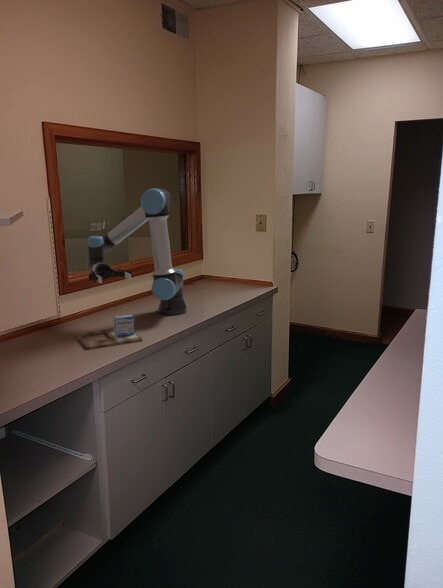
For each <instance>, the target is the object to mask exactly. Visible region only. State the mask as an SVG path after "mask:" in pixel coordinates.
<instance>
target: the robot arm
mask: <svg viewBox="0 0 443 588" xmlns="http://www.w3.org/2000/svg"><path fill="white" fill-rule="evenodd" d="M172 199H173V198H172V196H171V193H170V192H169V191H168V190H166V189H164V188H162V187H159V188H158V187H153V188H150V189H147V190H145V191H144V193H142V195H141V198H140V207H139V208H138V209H136V210H135V211H133V213H131V214H130V215H129V216H128V217H126V218H125V219H124V220H123V221H121V222H120V223H119V224H117V225H116V226H115V227H113V228H112V229H111V230H110V231H108V232H107V233H106V234H105V235H104V236H100V235H93V236H91V235H90V236H88V238H87V251H88V254H87V255H88V261H87V264H86V267H87V270H88V271H89V273H88V281H92V282H93V283H95V282H98V283H99V284H103V281H105V280H108V279H109V278H115V277H121V278H125V279H126V280H128V281H132V276H133V275H132V270H128V269H126V270H125V269H121V268H116V269H113V268H111V266H110V265H109V264H107V263H105V253H108V252H110V251H111V252H112V250H114V248H115V247H116V246H117V245H118V244H120V243H121V242H122V241H123V240H125V239H126V238H128V237H129V236H130V235H131V234H133V233H134V232H135V231H136V230H138V229H139V228H140V227H142V226H143V225H145V223H147V222H148V225H149V233H150V241H151V247H152V248H151V249H152V256H153V264H154V265H153V266H154V271H152V281H153V282H152V285H151V292H152V294H153V295H154V297H155V298H156V299H159V303H158V308H157V309H158V313H159V314H161V315H165V316H166V315H168V316H175V315H176V316H177V315H182V314H185V313H187V304H186V301H185V298H184V271H183V270H182V269H179V268H174V267H173V263H172V255H171V254H172V253H171V245H170V238H169V229H168V218H169V217H170V210H169V208H170V207H171V205H172V202H173V201H172Z"/></svg>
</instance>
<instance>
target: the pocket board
mask: <svg viewBox="0 0 443 588" xmlns="http://www.w3.org/2000/svg"><path fill="white" fill-rule="evenodd" d="M103 334H104V335H106V336H107V337H108V338H105V339H98V340H93V341H86V340H85V339H84V337H90V336H91V337H92V336H97V335H103ZM75 337H76V338H77V340H78V341H79V342H80V343H81V345H82V346H83V347H84V348H85V349H86V351H87V350H94V349H99V348H105V347H113V346H119V345H124V344H131V343H137V342H142V341H143V338H142V337H141V336H140V335H139V334H137V333H136V332H135V331H134V335H129V336H123V337H117V336H115V335H114V327H112V328H108V329H107V328H106V329H100V330H93V331H86V332H79V333H75Z"/></svg>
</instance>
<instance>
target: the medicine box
mask: <svg viewBox="0 0 443 588" xmlns="http://www.w3.org/2000/svg"><path fill="white" fill-rule="evenodd" d="M134 322H135V319H134V316H133V315H132V314H125V315H123V314H121V315H113V328H114V335H115V336H117V337H123V336H129V335H134V332H135V327H134V326H135V324H134Z"/></svg>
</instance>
